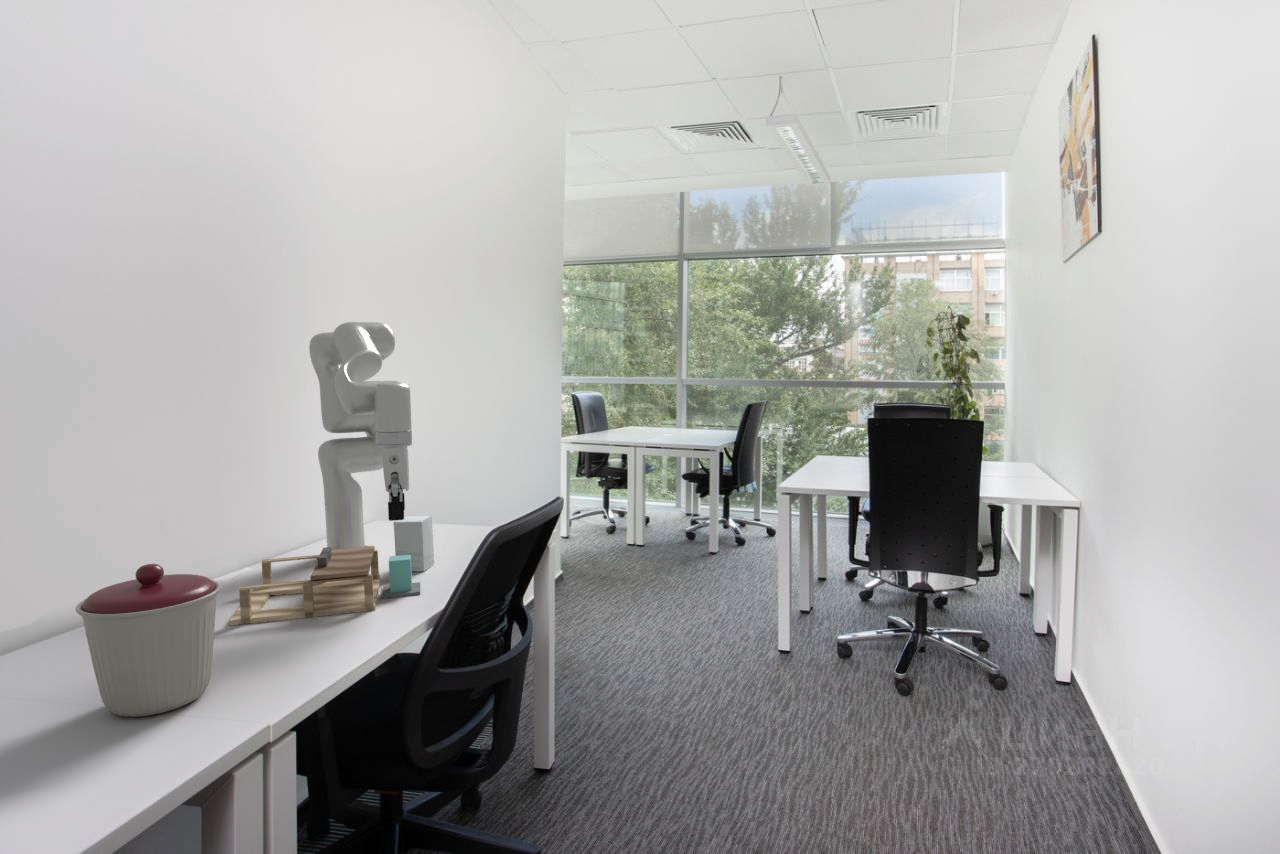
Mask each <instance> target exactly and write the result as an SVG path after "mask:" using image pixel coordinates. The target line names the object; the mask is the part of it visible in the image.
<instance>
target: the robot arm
mask: <svg viewBox="0 0 1280 854" xmlns="http://www.w3.org/2000/svg"><path fill="white" fill-rule="evenodd" d="M395 347H396V338H395V333H394V331H393V330H392V328H391V327H390V326H389V325H388V324H386V323H385V322H373V321H372V322H371V321H370V322H367V321H362V322H361V321H351V322H350V321H349V322H348V321H347V322H344V323H340V324H339V325H338V326H337V327H336V328H335V329H334V330H333V332H330V331H329V332H321V333H316V334H314V335H313V336H312V337H311V339H310V340H309V347H308V348H309V351H308V352H309V357H310V361H311V364H312V367H313V369H314V372H315V374H316V376H317V379H318V383H319V395H320V397H319V398H320V412H321V413H320V414H321V421H322V422H321V423H322V426H323V429H324V430H325V431H326V432H328V433H330V434H348V433H349V434H351V433H365V434H366V436H362V437H343V438H342V437H341V438H333V439H329V440H326V441H323V443H321V444H320V446H319V447H318V450H317V451H318V452H317V457H318V462H319V467H320V472H321V477H322V483H323V498H324V512H325V513H324V514H325V532H326V533H325V534H326V547H331V549H342V548H354V547H365V546H367V545H365V544H366V543H365V527H364V525H365V523H364V506H363V505H364V503H363V491H362V487H361V485H360V484H359V482H358V481H357V480H356V479H355V478H354V477H353V476H352V474H356V473H365V472H373V471H380V470H382V469H383V470H382V471H383V478H384V479H383V481H384V486H385V487H384V488H385V491H386V492H387V493H388V502H387V510H388V511H387V512H388V513H387V514H388V521H391V522H392V521H393V522H394V521H397V520H403V519H404V517H405V509H406V508H405V507H406V504H405V501H406V500H405V493H404V490H405V492H408V491H409V490H410V469H409V466H410V465H409V464H410V463H409V454H408V452H409V451H408V447H410V446H412V445H413V437H412V436H413V435H412V433H413V432H412V431H413V430H412V410H411V409H412V408H411V406H412V405H411V404H412V403H411V388H410V387H409V384H407V383H404V382H400V381H396V380H383V381H382V380H370V379H371V378H372V377H374V376H376V375H377V374H378V373H379V372H380V371H381V368H382V366H383V361H384V360H386V359H387V358H388V357H390V356H391V355H392V353H393V352H394V350H395Z"/></svg>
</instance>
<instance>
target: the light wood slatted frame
mask: <svg viewBox="0 0 1280 854" xmlns="http://www.w3.org/2000/svg"><path fill="white" fill-rule="evenodd" d="M319 555H320V554H316V555H315V554H314V555H305V556H304V555H303V556H292V557H291V556H290V557H280V558H279V557H278V558H269V559H262V560H261V571H262V573H261V574H262V584H252V585H243V586H240V587H239V588H238V593H239V607H238V608H237V610H236V611H235V613H233V615H232V616H231V617H230V619H229V620H228V624H229V625H231V626H237V625H238V624H241V625H248V623H250V624H257V623H258V622H259V623H265V622H267V621H269V622H275V621H277V622H278V621H285V620H286V619H287V620H295V619H305V618H313V617H322V616H331V615H332V616H333V614H334V615H340V614H341V615H342V613H343V614H350V612H352V613H360V612H359V611H362V612H368V611H370V610H371V611H376V609H377V608H376V607H377V601H378V597H377V596H378V595H379V590H380V584H381V575H380V571H379V552H378V549H375V550H374V554H373V558H372V562H371V566H370V573H369V575H359V576H349V577H338V578H327V579H317V580H311V579H307V580H306V579H304V580H294V581H285V582H284V581H283V582H274V583H273V574H272V563H278V562H279V563H281V562H289V561H290V562H292V561H302V560H304V561H305V560H312V559H316V564H317V563H318V557H319ZM282 594H286V595H293V594H294V595H296V594H303V595H302V596H303V605H299V606H290V607H279V608H271V609H263V608H264V606H265V604H266V603H267V601H268V600H269V598H270V597H271V596H270V595H276V596H283V595H282ZM269 596H270V597H269ZM267 599H268V600H267ZM265 602H266V603H265ZM263 605H264V606H263ZM261 608H262V609H261ZM357 611H358V612H357ZM238 626H239V625H238Z"/></svg>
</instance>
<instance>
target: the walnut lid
mask: <svg viewBox="0 0 1280 854" xmlns="http://www.w3.org/2000/svg"><path fill="white" fill-rule="evenodd" d="M375 548H376V547H375V545H366V546H365V547H354V548H342V549H331V547H327V546H326V547H323V548H322V550H321V552H320V554H318V555H319V557H318V563H317V562H316V565H315V566H314V569H313V570H312V572H311V574H310V580H317V579H327V578H338V577H349V576H359V575H369V574H370V572H371V562H372V558H373V554H374V550H376V549H375Z"/></svg>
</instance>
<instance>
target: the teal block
mask: <svg viewBox="0 0 1280 854" xmlns="http://www.w3.org/2000/svg"><path fill="white" fill-rule="evenodd" d="M388 568H389V569H388V570H389V571H388V573H389V575H388V576H389V585H390V593H391V592H401V591H412V583H413V580H412V579H413V578H412V577H413V575H412V573H413V572H411V555H402V556H396V555H394V556H391V555H390V556H389V559H388Z"/></svg>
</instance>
